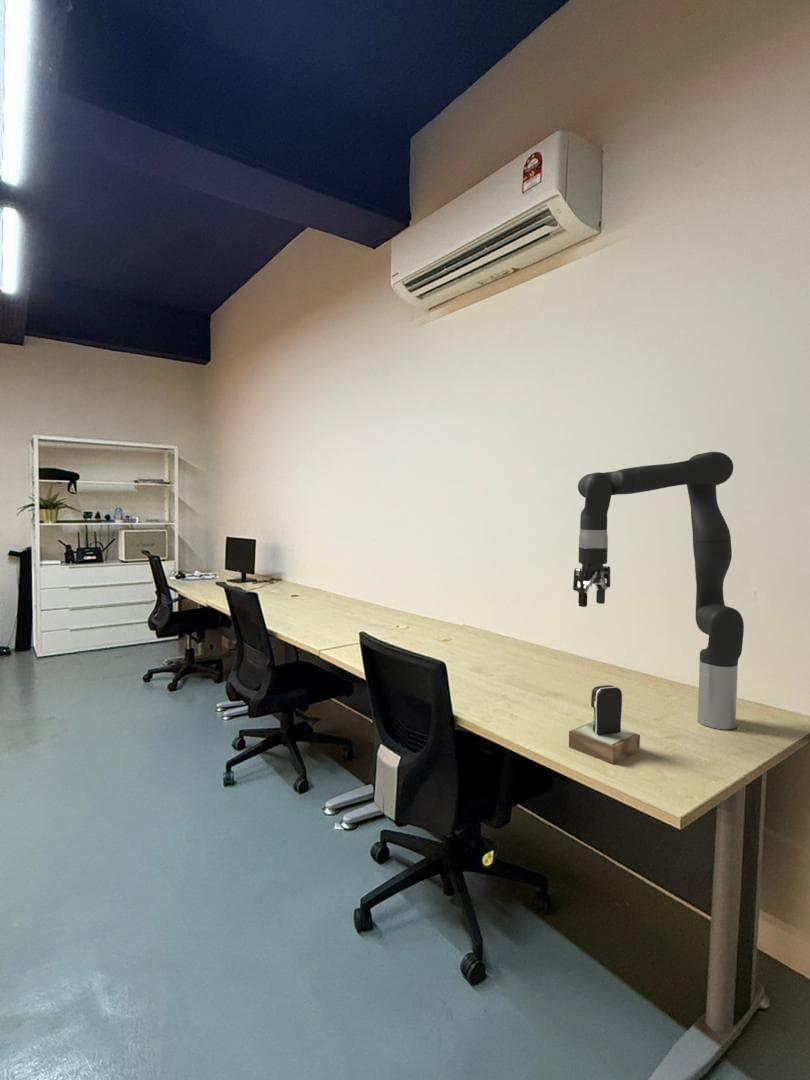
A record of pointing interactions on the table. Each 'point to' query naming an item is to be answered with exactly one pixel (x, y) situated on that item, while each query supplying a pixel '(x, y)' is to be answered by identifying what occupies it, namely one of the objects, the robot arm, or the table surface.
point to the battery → (606, 709)
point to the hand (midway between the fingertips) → (591, 605)
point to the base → (604, 743)
